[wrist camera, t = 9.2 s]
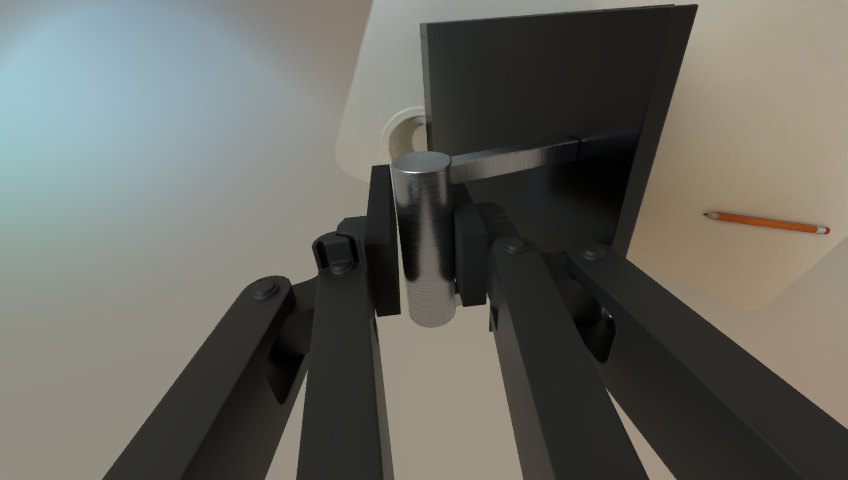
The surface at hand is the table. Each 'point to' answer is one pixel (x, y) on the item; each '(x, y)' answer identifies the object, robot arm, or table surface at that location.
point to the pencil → (768, 222)
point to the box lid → (537, 134)
